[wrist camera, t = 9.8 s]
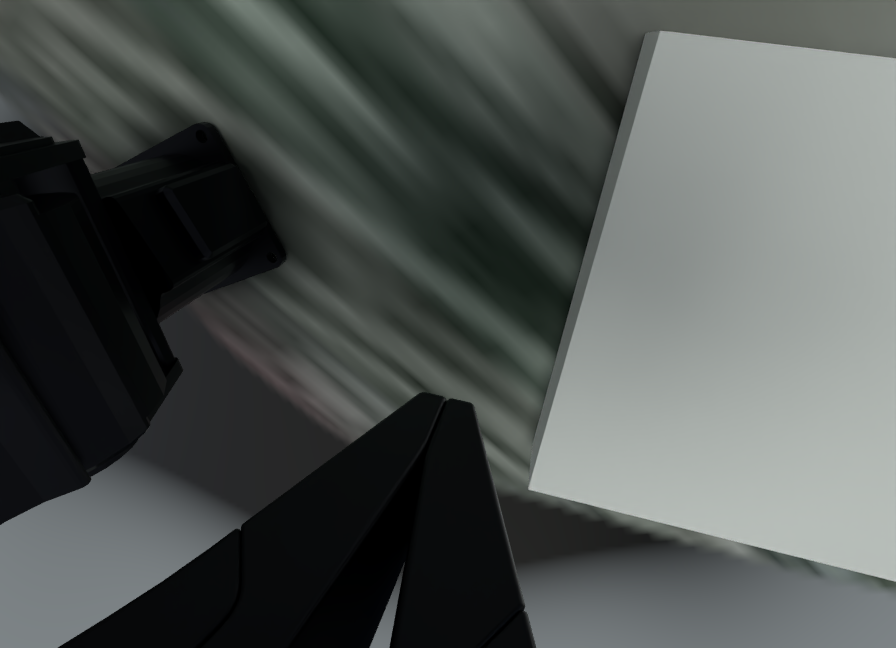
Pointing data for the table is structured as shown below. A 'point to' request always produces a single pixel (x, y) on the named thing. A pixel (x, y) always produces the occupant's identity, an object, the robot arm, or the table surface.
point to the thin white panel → (739, 306)
